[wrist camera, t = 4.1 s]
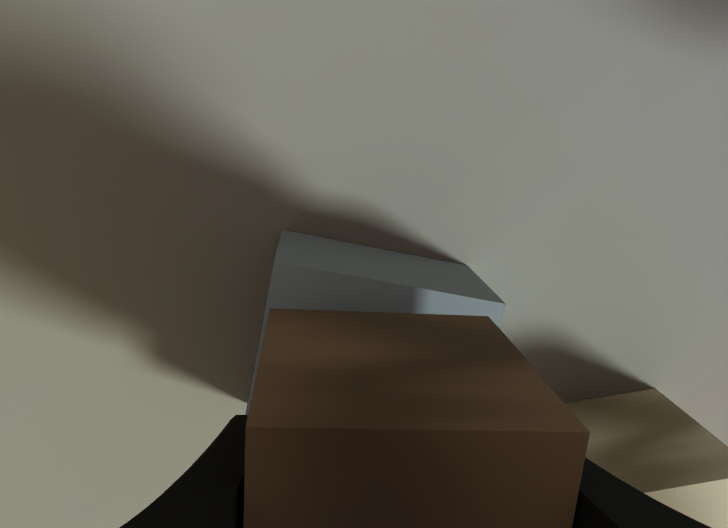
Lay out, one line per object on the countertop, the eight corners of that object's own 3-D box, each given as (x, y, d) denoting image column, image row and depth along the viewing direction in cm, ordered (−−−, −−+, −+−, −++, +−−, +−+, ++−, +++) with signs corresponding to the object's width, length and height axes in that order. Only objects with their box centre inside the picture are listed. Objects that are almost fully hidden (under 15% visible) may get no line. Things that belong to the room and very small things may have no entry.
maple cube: (653, 387, 20) (760, 472, 16) (652, 506, 22) (750, 619, 17) (516, 409, 20) (581, 504, 15) (523, 528, 21) (585, 650, 17)
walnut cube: (488, 316, 13) (590, 432, 8) (463, 503, 15) (540, 696, 10) (269, 308, 13) (245, 426, 8) (263, 502, 14) (239, 707, 9)
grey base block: (465, 263, 19) (505, 304, 15) (421, 427, 20) (448, 502, 16) (282, 228, 18) (273, 261, 14) (249, 401, 19) (234, 474, 15)
